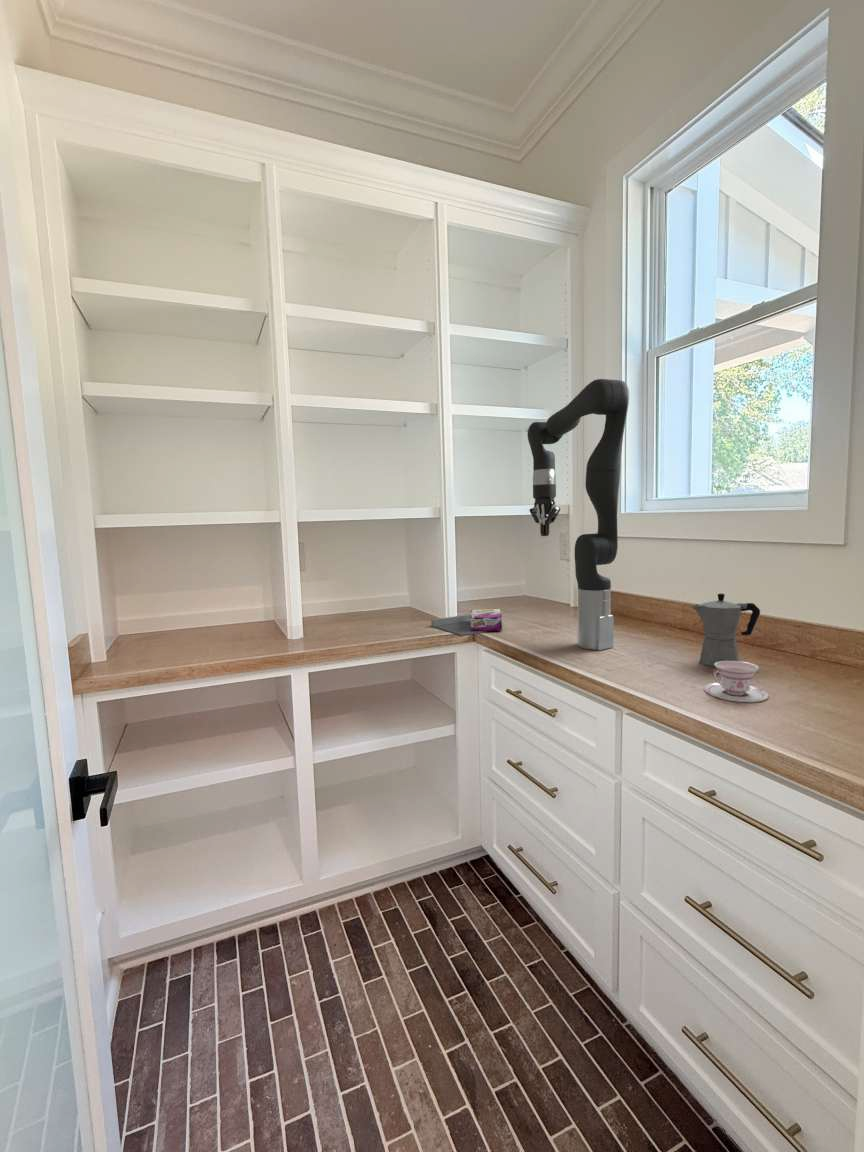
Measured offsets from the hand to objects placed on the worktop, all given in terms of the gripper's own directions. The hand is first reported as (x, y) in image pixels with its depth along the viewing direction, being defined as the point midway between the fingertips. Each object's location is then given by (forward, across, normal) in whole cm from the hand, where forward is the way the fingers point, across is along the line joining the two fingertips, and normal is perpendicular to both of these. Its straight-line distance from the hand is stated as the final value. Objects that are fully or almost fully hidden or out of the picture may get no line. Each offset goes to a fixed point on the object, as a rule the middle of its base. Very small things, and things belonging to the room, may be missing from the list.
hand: (544, 535), depth 178 cm
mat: (+32, +19, +20) cm, 42 cm away
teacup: (+32, -72, +13) cm, 80 cm away
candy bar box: (+29, +9, +19) cm, 36 cm away
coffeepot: (+32, -58, -7) cm, 67 cm away
